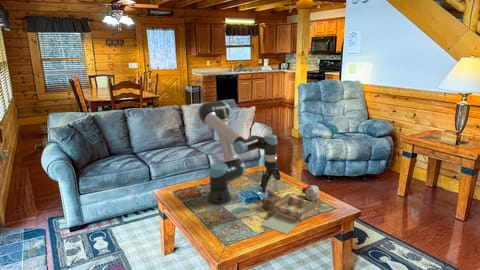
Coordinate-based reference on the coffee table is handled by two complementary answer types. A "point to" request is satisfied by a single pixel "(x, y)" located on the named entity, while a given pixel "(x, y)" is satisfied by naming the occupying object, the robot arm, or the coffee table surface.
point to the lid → (281, 222)
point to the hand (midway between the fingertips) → (270, 193)
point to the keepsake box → (294, 207)
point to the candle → (311, 192)
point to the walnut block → (269, 202)
